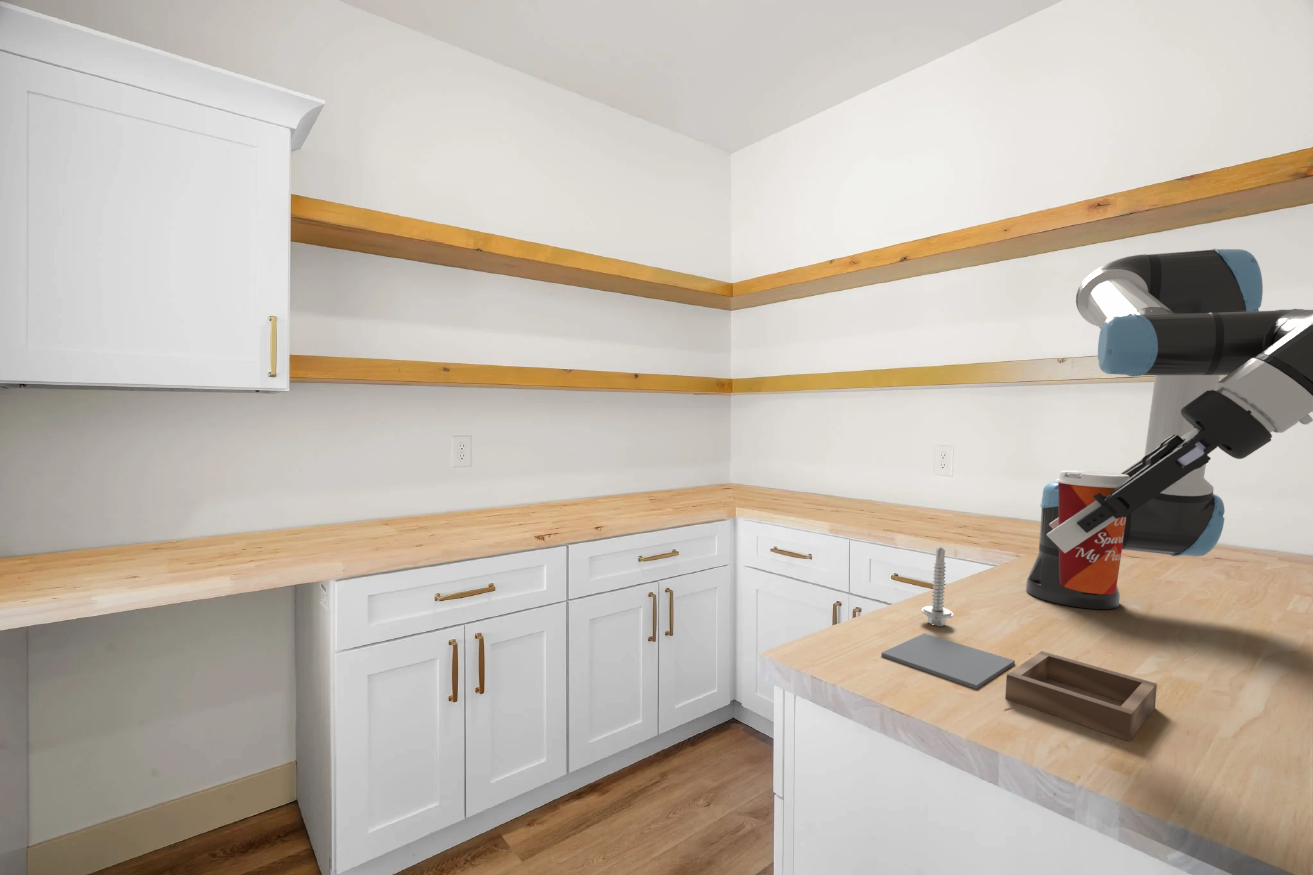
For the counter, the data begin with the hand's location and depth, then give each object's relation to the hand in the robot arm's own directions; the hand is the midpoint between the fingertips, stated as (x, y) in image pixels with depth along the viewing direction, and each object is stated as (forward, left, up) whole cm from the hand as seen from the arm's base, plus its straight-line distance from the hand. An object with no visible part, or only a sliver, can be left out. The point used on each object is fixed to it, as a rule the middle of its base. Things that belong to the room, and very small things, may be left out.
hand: (1056, 537), depth 76 cm
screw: (-15, -21, -20) cm, 32 cm away
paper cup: (-1, +3, -6) cm, 7 cm away
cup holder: (-1, +3, -20) cm, 20 cm away
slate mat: (-1, -13, -20) cm, 24 cm away
